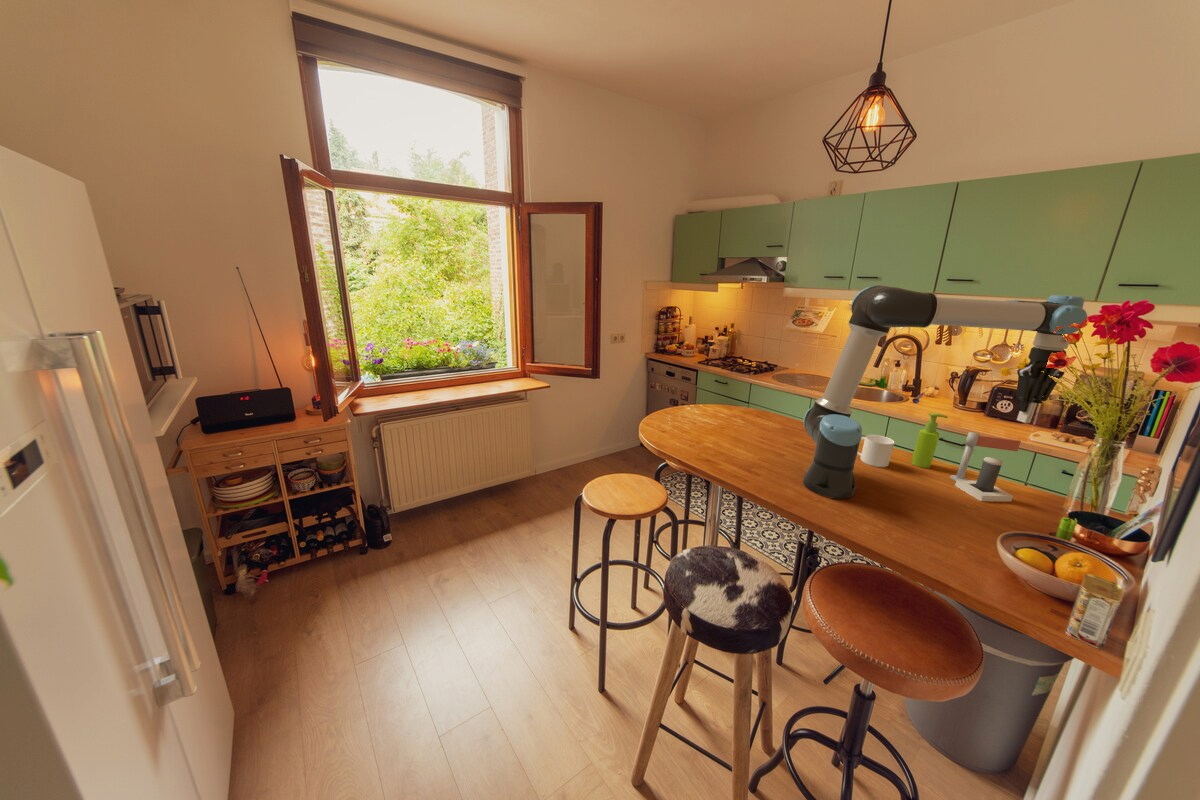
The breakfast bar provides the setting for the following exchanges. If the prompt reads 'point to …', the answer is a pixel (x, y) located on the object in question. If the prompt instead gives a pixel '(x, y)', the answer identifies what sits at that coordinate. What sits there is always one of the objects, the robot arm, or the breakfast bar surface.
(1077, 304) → the robot arm
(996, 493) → the socket
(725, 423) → the breakfast bar surface
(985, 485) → the dark grey cylinder
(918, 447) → the soap dispenser
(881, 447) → the mug
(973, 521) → the breakfast bar surface
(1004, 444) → the clip
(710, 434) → the breakfast bar surface
